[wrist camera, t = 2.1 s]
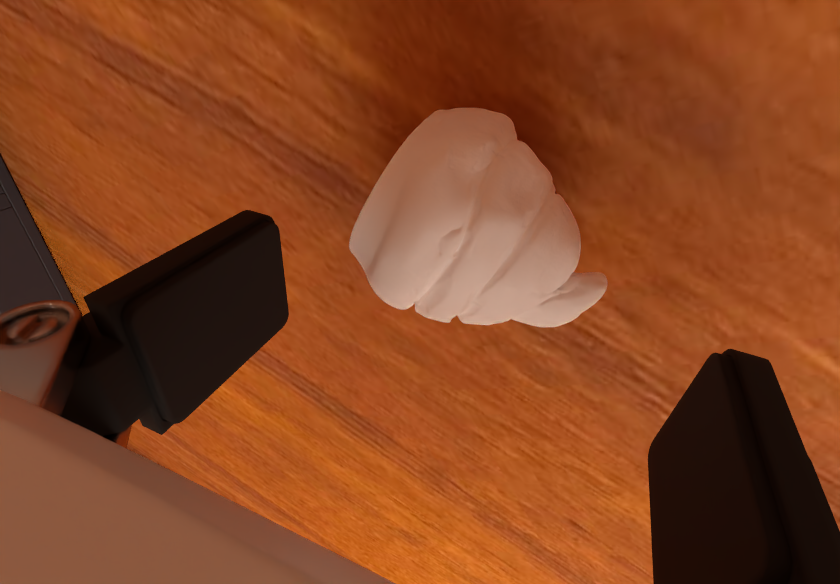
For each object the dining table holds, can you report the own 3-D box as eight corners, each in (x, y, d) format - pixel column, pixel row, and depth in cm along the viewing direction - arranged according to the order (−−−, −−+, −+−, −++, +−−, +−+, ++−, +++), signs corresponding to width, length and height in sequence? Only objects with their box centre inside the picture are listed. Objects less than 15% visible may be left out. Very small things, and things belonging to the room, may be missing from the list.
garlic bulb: (540, 315, 15) (506, 437, 11) (399, 219, 15) (312, 305, 11) (663, 194, 12) (682, 308, 7) (479, 69, 12) (396, 113, 7)
